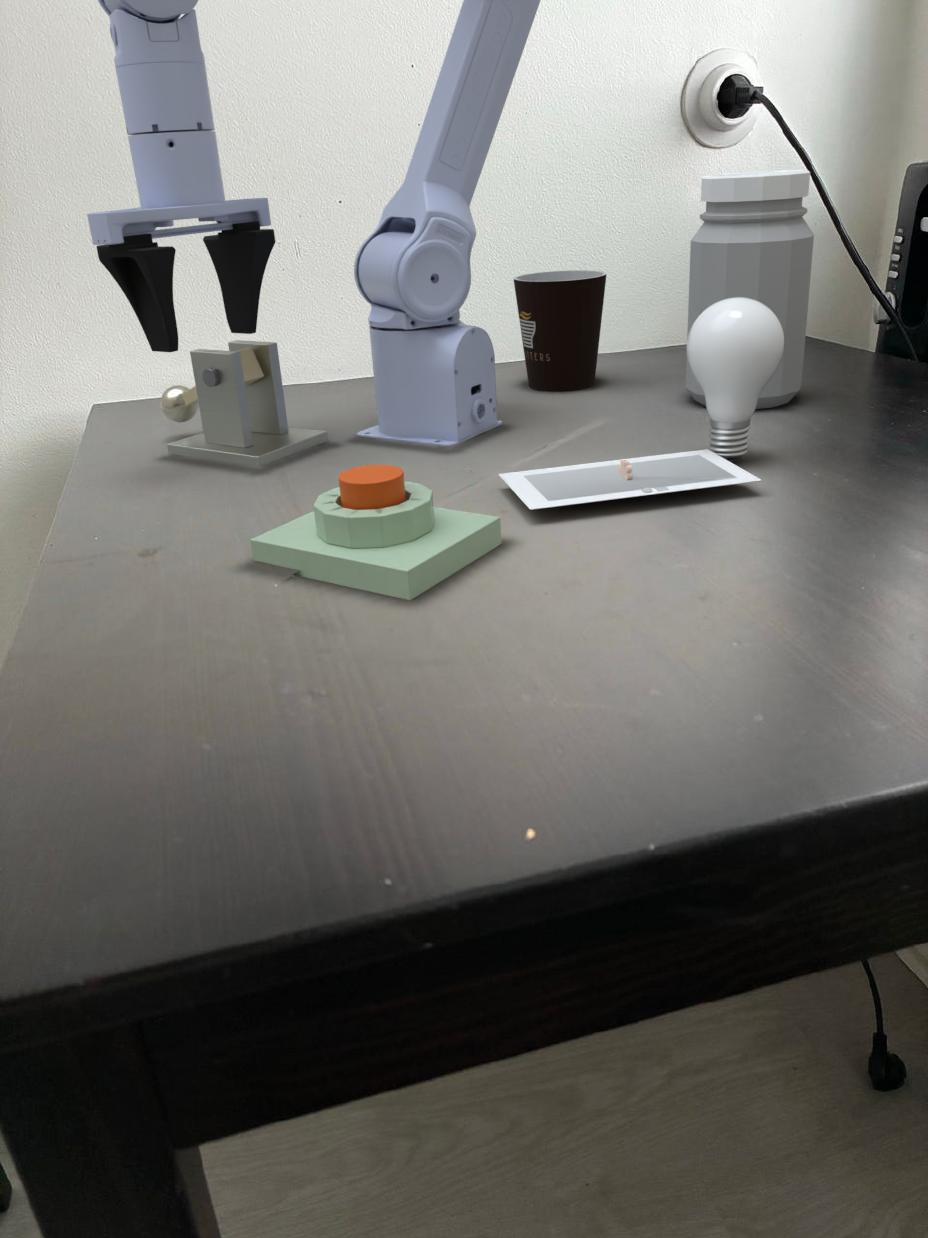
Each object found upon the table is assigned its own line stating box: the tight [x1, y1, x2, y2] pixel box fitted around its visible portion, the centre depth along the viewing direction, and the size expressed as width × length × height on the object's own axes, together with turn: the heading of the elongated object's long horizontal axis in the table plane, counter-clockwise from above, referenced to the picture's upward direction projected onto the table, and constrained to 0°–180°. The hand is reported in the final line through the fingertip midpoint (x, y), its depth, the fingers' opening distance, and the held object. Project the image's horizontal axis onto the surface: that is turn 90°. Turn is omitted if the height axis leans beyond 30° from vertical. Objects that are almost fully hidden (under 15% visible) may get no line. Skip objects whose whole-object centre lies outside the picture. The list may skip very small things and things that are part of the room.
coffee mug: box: [513, 269, 607, 392], centre depth 96 cm, size 12×9×10 cm
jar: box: [685, 169, 815, 410], centre depth 83 cm, size 10×10×18 cm
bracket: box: [166, 339, 330, 468], centre depth 78 cm, size 10×8×8 cm
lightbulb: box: [686, 297, 784, 462], centre depth 68 cm, size 6×6×11 cm
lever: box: [160, 347, 264, 423], centre depth 80 cm, size 11×3×3 cm, turn 57°
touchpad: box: [498, 448, 763, 510], centre depth 64 cm, size 8×15×2 cm, turn 102°
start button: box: [338, 464, 406, 510], centre depth 55 cm, size 4×4×2 cm
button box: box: [250, 480, 502, 601], centre depth 56 cm, size 11×9×4 cm
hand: (205, 341), depth 72 cm, fingers open, 7 cm apart
